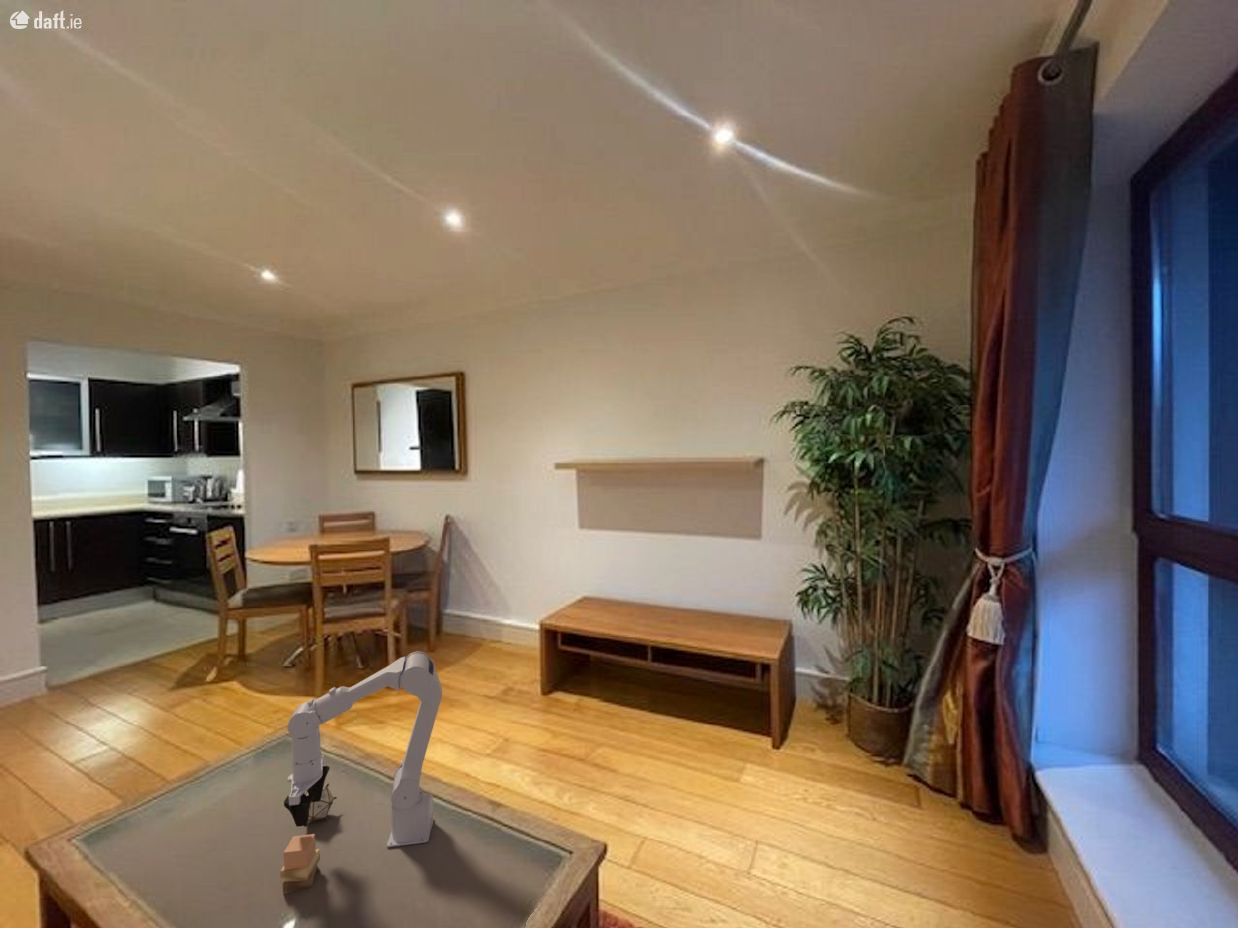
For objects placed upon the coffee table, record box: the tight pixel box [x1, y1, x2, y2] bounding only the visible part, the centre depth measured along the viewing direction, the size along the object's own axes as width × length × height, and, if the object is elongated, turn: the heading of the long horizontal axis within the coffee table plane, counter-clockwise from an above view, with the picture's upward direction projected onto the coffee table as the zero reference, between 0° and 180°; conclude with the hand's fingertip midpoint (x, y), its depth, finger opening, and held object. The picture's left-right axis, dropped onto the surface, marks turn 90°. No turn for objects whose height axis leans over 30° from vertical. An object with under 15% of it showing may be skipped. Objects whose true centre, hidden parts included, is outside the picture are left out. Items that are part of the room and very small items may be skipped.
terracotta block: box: [283, 833, 316, 870], centre depth 114 cm, size 4×4×4 cm
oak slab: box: [279, 848, 321, 883], centre depth 115 cm, size 6×6×2 cm
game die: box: [305, 782, 338, 822], centre depth 132 cm, size 9×8×10 cm
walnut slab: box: [282, 864, 318, 895], centre depth 115 cm, size 6×6×2 cm
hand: (308, 812), depth 121 cm, fingers open, 7 cm apart
